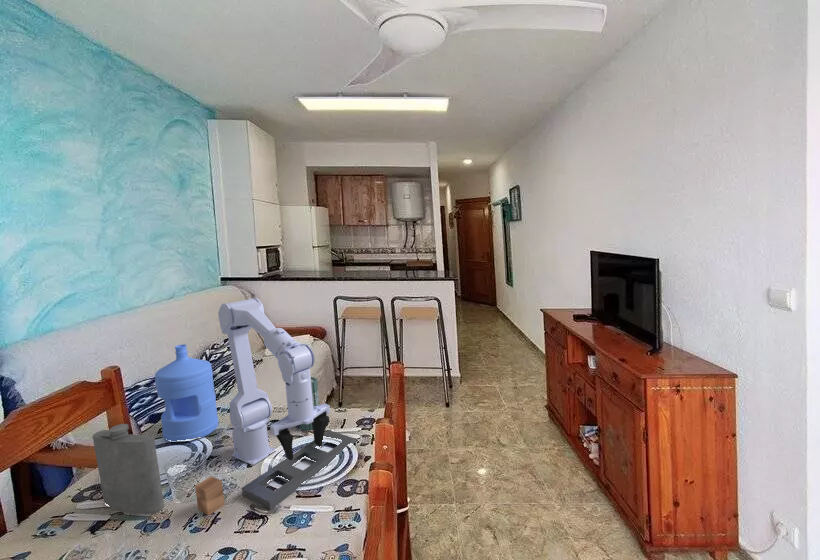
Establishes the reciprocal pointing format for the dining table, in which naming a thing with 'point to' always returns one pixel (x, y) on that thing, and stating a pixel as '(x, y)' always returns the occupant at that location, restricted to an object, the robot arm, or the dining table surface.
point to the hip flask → (128, 470)
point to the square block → (209, 495)
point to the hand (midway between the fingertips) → (304, 451)
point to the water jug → (187, 397)
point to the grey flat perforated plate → (293, 472)
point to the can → (315, 402)
